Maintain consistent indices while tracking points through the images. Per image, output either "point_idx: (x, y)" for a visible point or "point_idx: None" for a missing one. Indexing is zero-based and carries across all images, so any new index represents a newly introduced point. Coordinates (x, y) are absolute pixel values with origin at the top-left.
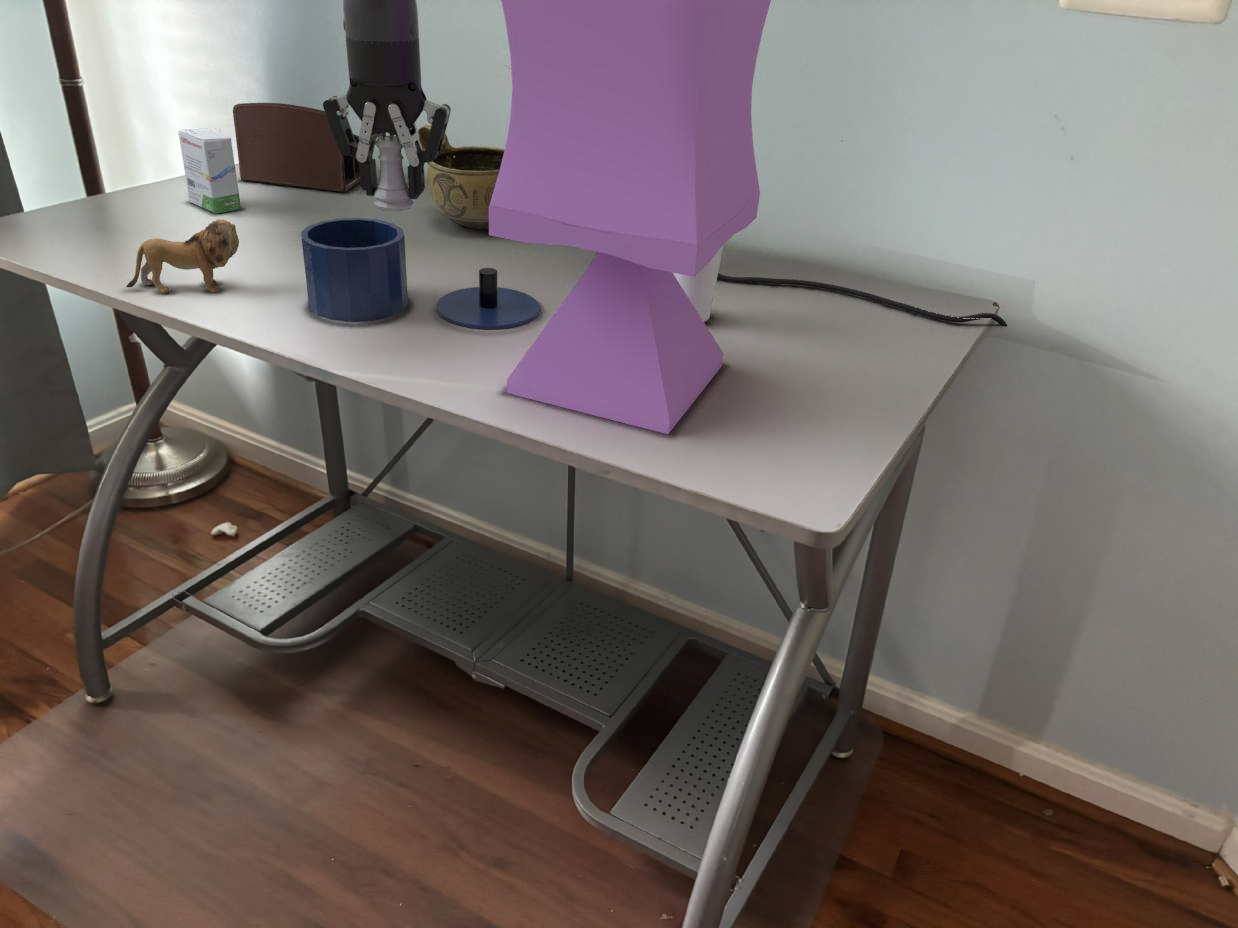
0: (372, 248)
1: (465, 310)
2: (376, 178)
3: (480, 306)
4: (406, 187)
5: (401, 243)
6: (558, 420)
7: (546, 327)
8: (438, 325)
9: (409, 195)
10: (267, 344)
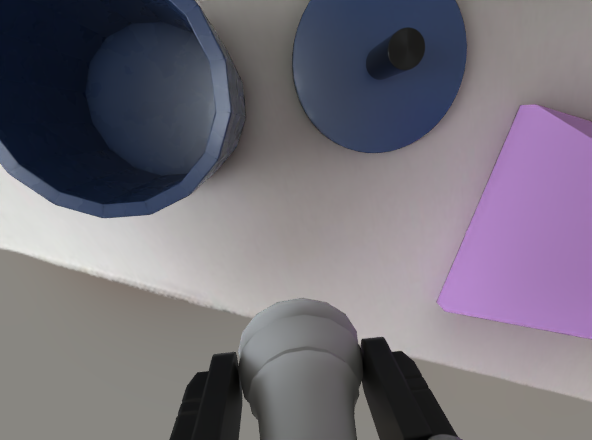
0: (197, 184)
1: (348, 98)
2: (228, 385)
3: (369, 74)
4: (356, 396)
5: (230, 91)
6: (492, 337)
7: (537, 328)
8: (312, 139)
9: (366, 395)
10: (117, 269)
